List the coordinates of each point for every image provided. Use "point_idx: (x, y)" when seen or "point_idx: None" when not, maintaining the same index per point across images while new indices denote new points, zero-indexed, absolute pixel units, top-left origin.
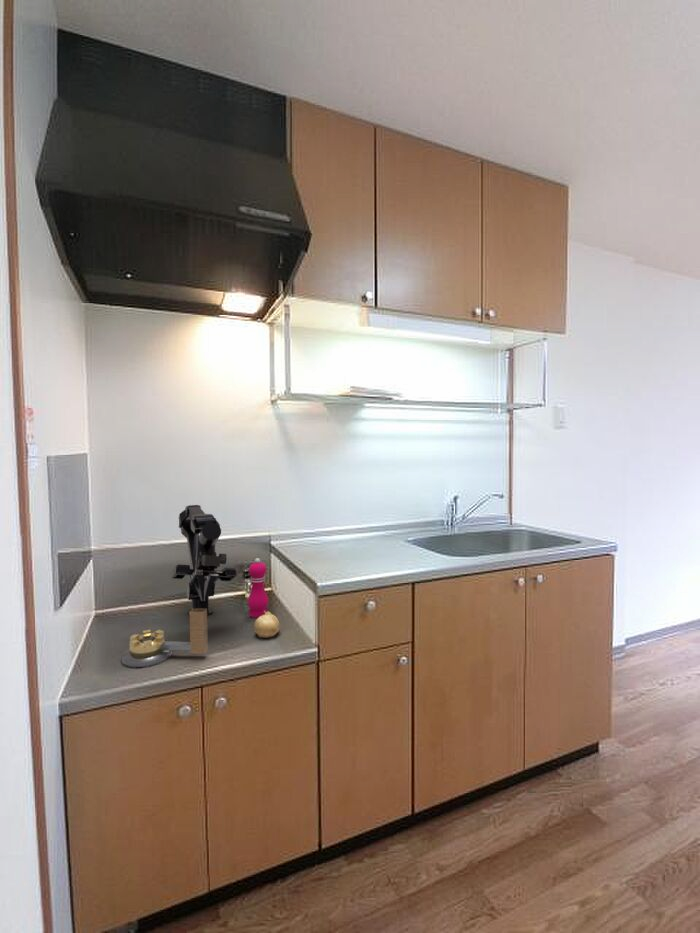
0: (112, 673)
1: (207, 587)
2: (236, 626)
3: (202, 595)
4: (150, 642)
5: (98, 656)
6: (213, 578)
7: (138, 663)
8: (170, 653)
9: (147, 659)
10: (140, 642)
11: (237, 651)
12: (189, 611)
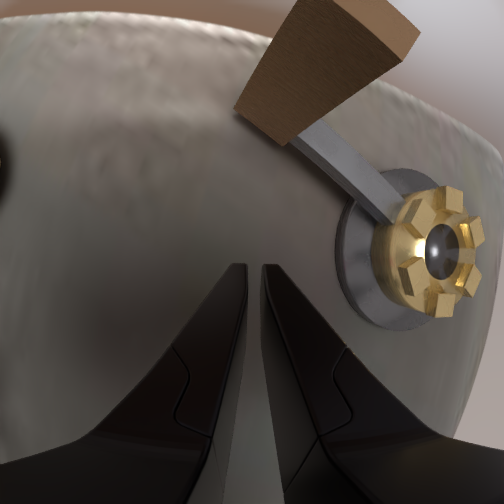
0: (464, 201)
1: (224, 367)
2: (42, 334)
3: (289, 290)
4: (448, 187)
5: (472, 319)
6: (61, 487)
7: (434, 183)
8: (352, 202)
9: (418, 186)
10: (457, 241)
11: (116, 90)
12: (420, 32)
